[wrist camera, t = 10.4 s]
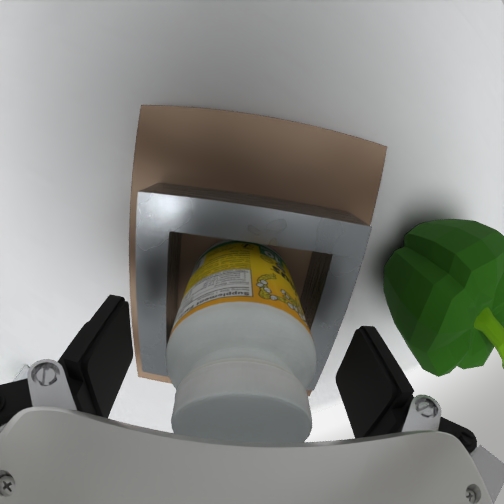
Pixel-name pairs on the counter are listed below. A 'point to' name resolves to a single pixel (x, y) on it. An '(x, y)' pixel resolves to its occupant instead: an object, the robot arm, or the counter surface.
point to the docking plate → (248, 175)
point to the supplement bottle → (241, 349)
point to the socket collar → (249, 230)
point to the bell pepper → (448, 293)
